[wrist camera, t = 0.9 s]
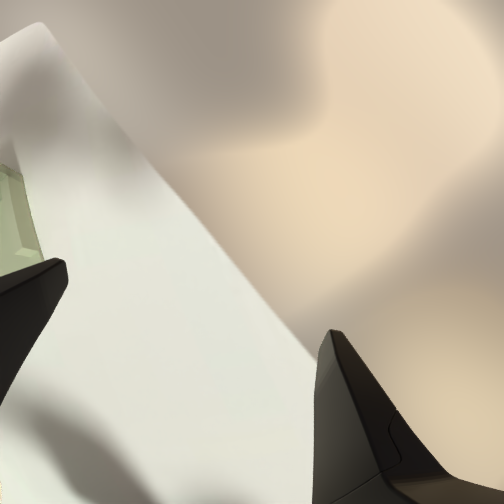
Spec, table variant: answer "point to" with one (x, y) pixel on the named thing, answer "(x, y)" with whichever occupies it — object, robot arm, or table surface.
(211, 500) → the table surface
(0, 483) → the lidded jar
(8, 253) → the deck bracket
